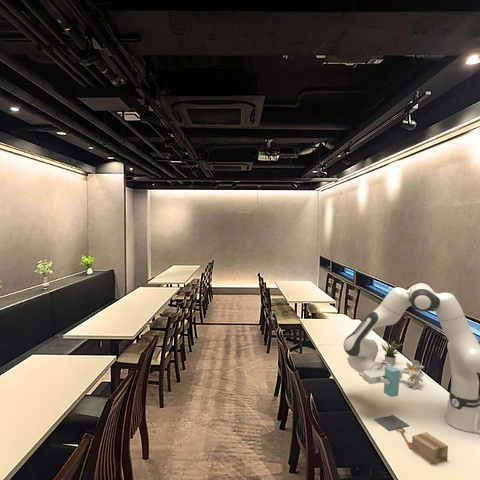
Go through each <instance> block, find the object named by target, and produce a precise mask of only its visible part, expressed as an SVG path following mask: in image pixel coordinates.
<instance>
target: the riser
mask: <svg viewBox="0 0 480 480" xmlns="http://www.w3.org/2000/svg"><path fill="white" fill-rule="evenodd" d="M411 437H412V438H411V443H412V449H411V451H412V452H414V453H415V454H417V455H418V456H419V457H421V458H423V460H425V461H426V462H428V463H429V464H430V465H432V466H433V465H437V464H440V463H444V462H447V461H448V450H449V445H447V444H446V443H444V442H442V441H441V440H439V439H438V438H437V437H435V436H433V435H431V434H430V433H429V432H422V433H419V434H414V435H412V436H411Z"/></svg>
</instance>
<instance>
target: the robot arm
mask: <svg viewBox="0 0 480 480" xmlns="http://www.w3.org/2000/svg"><path fill="white" fill-rule="evenodd" d="M409 307H413V309H415V310H416V311H418V312H424V313H425V312H435V314H436V317H437V319H438V321H439V323H440V326H441V329H442V332H443V333H444V335H445V337H446V338H447V340H448V342H447V345H446V349H447V350H448V356H449V365H450V366H449V367H450V371H451V382H450V383H451V384H450V390H449V398H448V400H447V404H446V410H445V411H444V412H443V415H444V417H445V418H444V419H445V422H446V423H447V424H448V425H450V426H452V427H453V428H455V429H457V430H460V431H464V432H469V433H475V434H479V435H480V395H479V392H480V390H479V389H480V379H479V376H478V373H479V374H480V342H479V341H478V339H477V337H476V335H475V334H474V332H473V331H472V329H471V327H470V325H469V323H468V320H467V318H466V316H465V313H464V311H463V308H462V307H461V304H460V303H459V301H458V300H457V298H456V297H455V295H454V294H452V293H450V292H440V293H437V292H435V291H434V289H433V287H432V286H431V285H430V284H429V283H427V282H424V281H419V282H415V283H414V284H411V285H409V286H407V287H405V288H402V287H398V286H396V287H393V288H392V289H391V290H390V291H389V292H388V293H387V294H386V296H385V297H384V298H383V300H382V301H381V303H380V304H379V305H378V307H376V308H375V309H374V310H373V311H371V312H370V313H368V314H367V315H366V316H365V317H364V319H363V320H362V321H361V322H360V323H359V324H358V326H356V328H355V329H354V330H353V331H352V333H350V334H349V335H348V336H347V337H346V338H345V339H344V342H343V349H344V352H345V353H346V354H347V355H348V358H347V363H348V365H349V366H350V368H351V369H353V370H354V371H355V372H357V373H358V375H359V376H360V377H362V379H363V381H365V382H366V383H367V384H370V385H373V384H379V383H381V384H384V383H385V384H388V385H390V384H391V381H390V380H389V379H388V380H387V379H385V368H388V367H394V368H395V366H389V364H388V363H384V362H385V361H383V362H381V361H380V362H379V361H376V358H377V357H378V353H379V347H378V344H377V342H376V341H375V340H373V339H370V338H367V336H368V335H369V334H370V333H371V332H372V330H374V329H376V328H380V327H385V326H393V325H395V324H396V323H397V322H398V321H399V320H401V318H402V316H403V315H404V313H405V312H406V310H407V309H408V308H409ZM397 368H398V367H396V369H397ZM398 370H399V369H398ZM402 378H403V373H402V371H400V376H399V384H400V383H402Z"/></svg>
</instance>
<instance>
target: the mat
mask: <svg viewBox="0 0 480 480" xmlns="http://www.w3.org/2000/svg"><path fill="white" fill-rule="evenodd" d="M373 421H375V422H376V423H377V424H379V425H380V426H382V427H383V428H384V429H386V430H387V431H389V432H392V431H395V430H396V428H397V427H400V428H403V429H404V428H408V427H410V424H408V423H406V422H405V421H403V420H402V419H400V418H398V416H396V415H394V414H390V415H387V416H381V417H376V418H373ZM396 431H397V430H396Z"/></svg>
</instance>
